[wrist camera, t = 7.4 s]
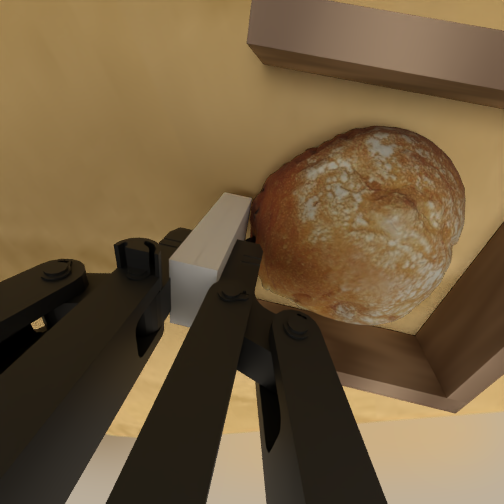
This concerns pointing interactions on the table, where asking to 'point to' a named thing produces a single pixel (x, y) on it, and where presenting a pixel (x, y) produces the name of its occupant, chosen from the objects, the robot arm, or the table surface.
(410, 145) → the bread roll
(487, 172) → the table surface
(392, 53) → the corral
